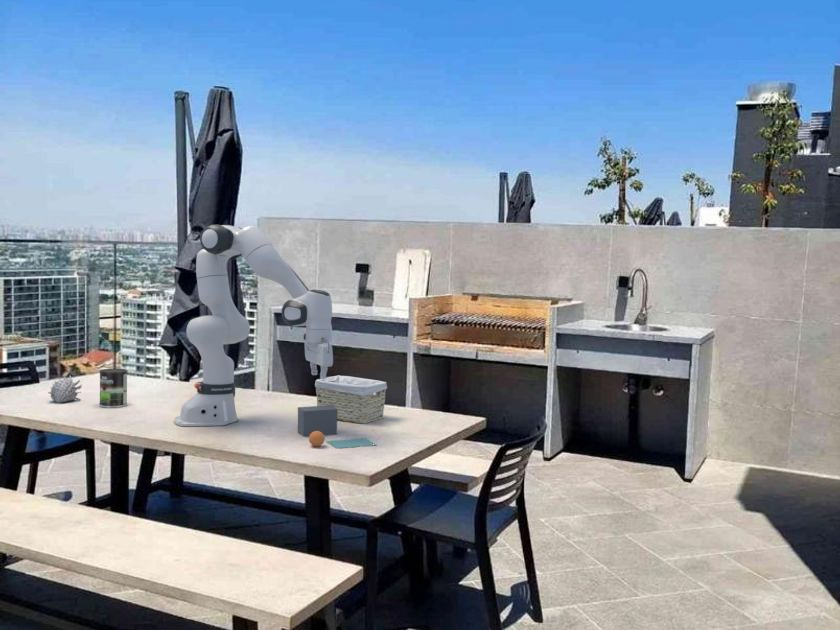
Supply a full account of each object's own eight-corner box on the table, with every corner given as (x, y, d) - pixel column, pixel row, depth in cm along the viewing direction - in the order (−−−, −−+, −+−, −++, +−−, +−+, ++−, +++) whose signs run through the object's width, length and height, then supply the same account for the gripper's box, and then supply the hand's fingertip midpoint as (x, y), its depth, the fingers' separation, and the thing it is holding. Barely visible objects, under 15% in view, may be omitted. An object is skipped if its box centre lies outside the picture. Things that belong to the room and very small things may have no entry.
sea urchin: (45, 408, 312) (74, 411, 311) (41, 384, 307) (69, 387, 306) (61, 393, 322) (89, 396, 321) (57, 370, 318) (85, 373, 316)
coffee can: (114, 408, 303) (114, 372, 302) (93, 406, 306) (93, 370, 305) (133, 404, 312) (133, 369, 311) (113, 402, 316) (113, 367, 315)
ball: (311, 448, 249) (311, 433, 248) (306, 445, 253) (307, 430, 253) (326, 447, 251) (326, 432, 250) (321, 444, 255) (321, 428, 255)
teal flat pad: (336, 448, 250) (336, 448, 250) (326, 441, 259) (326, 441, 259) (376, 445, 256) (376, 444, 256) (365, 438, 265) (365, 438, 265)
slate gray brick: (303, 436, 265) (303, 411, 264) (297, 432, 271) (297, 407, 271) (337, 434, 270) (337, 409, 269) (330, 429, 277) (330, 405, 276)
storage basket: (388, 418, 299) (389, 380, 298) (363, 425, 285) (364, 386, 284) (338, 411, 311) (338, 374, 310) (312, 417, 298) (313, 379, 296)
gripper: (337, 339, 261) (337, 380, 262) (318, 334, 279) (318, 372, 280) (319, 340, 258) (319, 381, 259) (301, 334, 276) (301, 373, 277)
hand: (318, 376), depth 270 cm, fingers open, 8 cm apart
